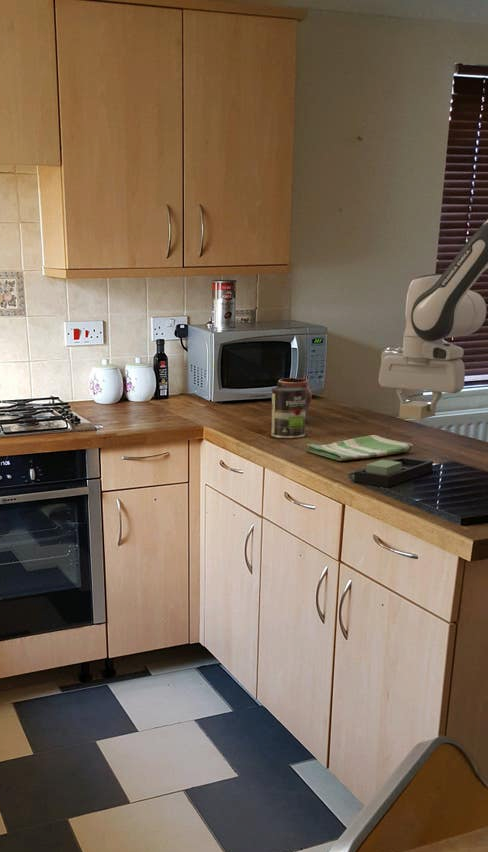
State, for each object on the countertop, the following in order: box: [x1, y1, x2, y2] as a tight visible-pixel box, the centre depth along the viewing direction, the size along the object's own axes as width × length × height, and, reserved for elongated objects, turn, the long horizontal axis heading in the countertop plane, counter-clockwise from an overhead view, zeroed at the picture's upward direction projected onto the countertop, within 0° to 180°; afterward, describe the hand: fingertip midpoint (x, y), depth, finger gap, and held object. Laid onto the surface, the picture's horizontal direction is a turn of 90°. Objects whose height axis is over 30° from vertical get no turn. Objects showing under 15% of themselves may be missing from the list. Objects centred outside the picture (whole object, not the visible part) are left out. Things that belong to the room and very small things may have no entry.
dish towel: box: [306, 434, 414, 462], centre depth 238 cm, size 18×23×3 cm
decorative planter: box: [276, 377, 312, 417], centre depth 285 cm, size 20×12×14 cm, turn 10°
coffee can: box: [270, 386, 307, 439], centre depth 263 cm, size 10×10×14 cm
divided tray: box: [353, 456, 434, 488], centre depth 210 cm, size 9×21×2 cm, turn 136°
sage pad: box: [365, 459, 402, 475], centre depth 206 cm, size 6×7×3 cm
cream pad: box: [398, 400, 436, 420], centre depth 205 cm, size 6×7×3 cm
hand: (417, 409), depth 205 cm, fingers closed on cream pad, 5 cm apart
